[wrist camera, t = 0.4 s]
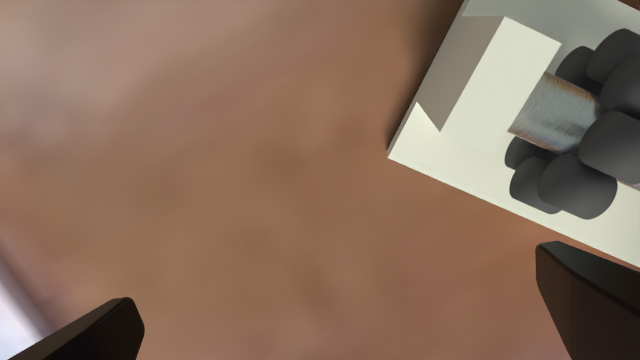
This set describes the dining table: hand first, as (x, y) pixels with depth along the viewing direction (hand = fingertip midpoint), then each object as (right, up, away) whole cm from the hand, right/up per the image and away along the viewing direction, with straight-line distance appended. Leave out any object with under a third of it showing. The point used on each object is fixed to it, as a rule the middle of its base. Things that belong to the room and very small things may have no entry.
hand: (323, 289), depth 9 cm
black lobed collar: (+10, +5, +9) cm, 15 cm away
